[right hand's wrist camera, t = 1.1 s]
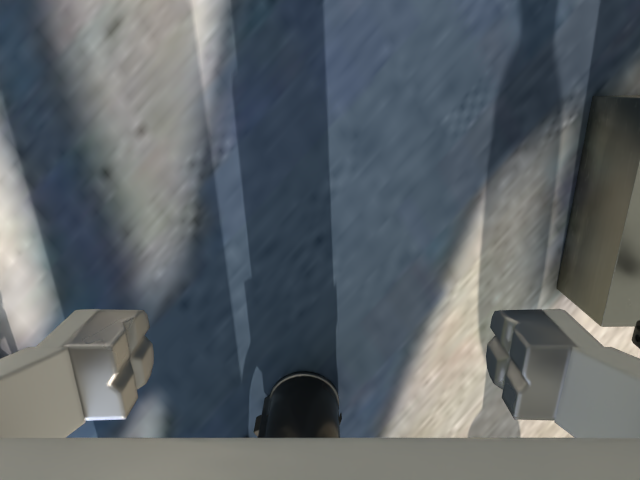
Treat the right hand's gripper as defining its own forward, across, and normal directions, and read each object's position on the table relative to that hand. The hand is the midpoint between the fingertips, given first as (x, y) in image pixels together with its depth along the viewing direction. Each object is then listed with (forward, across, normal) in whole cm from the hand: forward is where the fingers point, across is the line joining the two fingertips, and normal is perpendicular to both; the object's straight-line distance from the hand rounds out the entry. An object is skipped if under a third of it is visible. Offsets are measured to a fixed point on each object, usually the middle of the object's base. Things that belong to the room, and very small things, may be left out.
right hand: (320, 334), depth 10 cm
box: (+40, -32, +7) cm, 51 cm away
